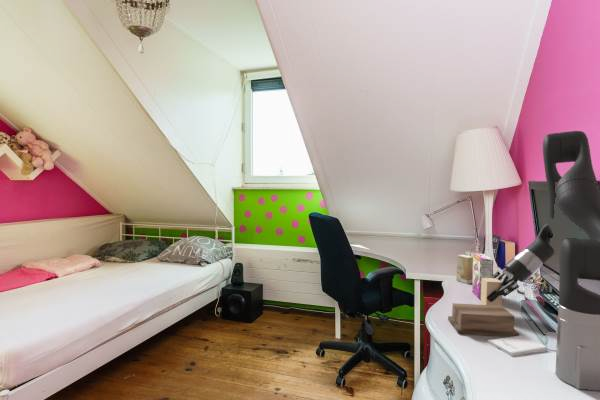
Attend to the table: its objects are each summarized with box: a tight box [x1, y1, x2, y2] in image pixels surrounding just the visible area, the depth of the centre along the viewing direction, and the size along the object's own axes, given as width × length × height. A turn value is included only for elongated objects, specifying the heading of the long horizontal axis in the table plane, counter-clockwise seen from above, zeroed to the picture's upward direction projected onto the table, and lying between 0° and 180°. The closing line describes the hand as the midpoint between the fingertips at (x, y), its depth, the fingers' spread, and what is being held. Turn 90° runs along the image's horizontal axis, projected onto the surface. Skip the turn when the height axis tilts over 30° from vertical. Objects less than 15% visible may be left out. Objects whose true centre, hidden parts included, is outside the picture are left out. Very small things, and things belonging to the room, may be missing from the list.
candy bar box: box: [471, 253, 494, 301], centre depth 145 cm, size 11×5×16 cm, turn 168°
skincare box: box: [455, 254, 473, 285], centre depth 166 cm, size 6×4×12 cm
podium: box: [447, 302, 520, 338], centre depth 113 cm, size 11×17×6 cm, turn 82°
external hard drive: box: [487, 334, 548, 357], centre depth 101 cm, size 2×8×12 cm
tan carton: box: [480, 278, 503, 307], centre depth 126 cm, size 5×5×12 cm
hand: (485, 297), depth 126 cm, fingers closed on tan carton, 5 cm apart
